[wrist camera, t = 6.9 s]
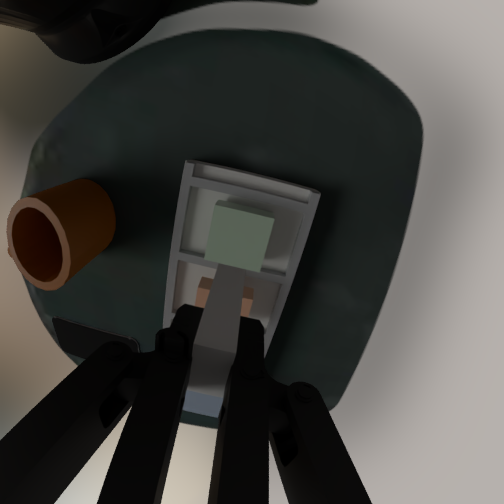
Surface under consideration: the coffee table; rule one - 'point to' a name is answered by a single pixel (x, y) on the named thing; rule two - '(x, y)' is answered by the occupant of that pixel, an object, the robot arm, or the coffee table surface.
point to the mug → (59, 231)
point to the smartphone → (85, 338)
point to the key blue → (202, 403)
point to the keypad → (198, 226)
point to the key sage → (239, 235)
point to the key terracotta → (205, 289)
